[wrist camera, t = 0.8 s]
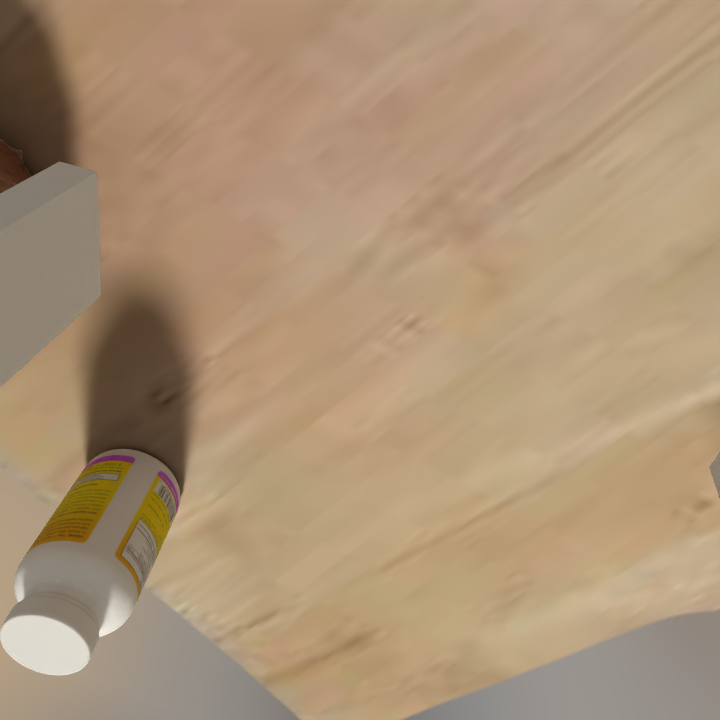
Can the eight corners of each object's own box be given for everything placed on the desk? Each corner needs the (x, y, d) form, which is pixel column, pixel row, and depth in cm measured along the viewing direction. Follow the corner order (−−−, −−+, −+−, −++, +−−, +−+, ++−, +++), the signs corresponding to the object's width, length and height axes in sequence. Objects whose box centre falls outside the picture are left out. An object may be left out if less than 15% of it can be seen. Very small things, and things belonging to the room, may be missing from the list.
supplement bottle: (70, 489, 46) (-42, 649, 35) (112, 426, 43) (6, 578, 32) (155, 537, 48) (75, 705, 37) (202, 479, 45) (130, 642, 34)
